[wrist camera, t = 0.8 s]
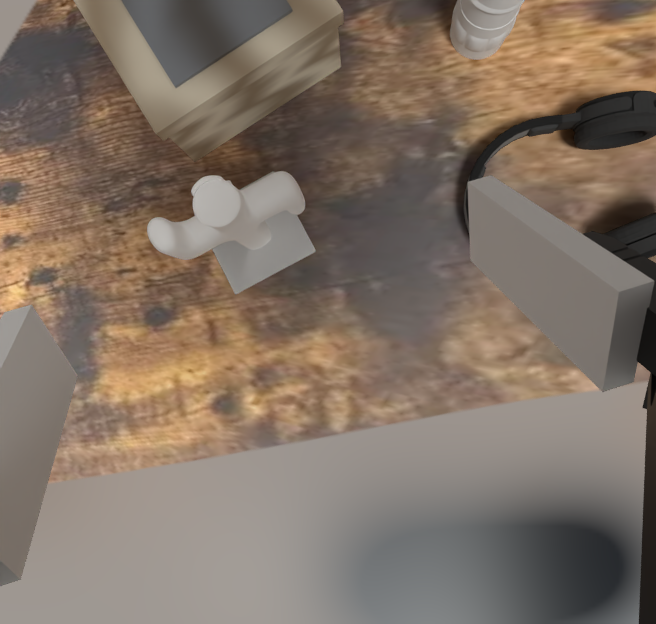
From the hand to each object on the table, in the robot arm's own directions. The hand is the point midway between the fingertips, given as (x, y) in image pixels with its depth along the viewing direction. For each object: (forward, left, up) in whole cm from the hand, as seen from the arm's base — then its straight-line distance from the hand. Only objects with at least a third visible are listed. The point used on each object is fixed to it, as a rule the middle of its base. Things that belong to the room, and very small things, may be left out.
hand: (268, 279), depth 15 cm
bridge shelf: (-4, -24, -28) cm, 37 cm away
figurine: (+2, -8, -28) cm, 30 cm away
